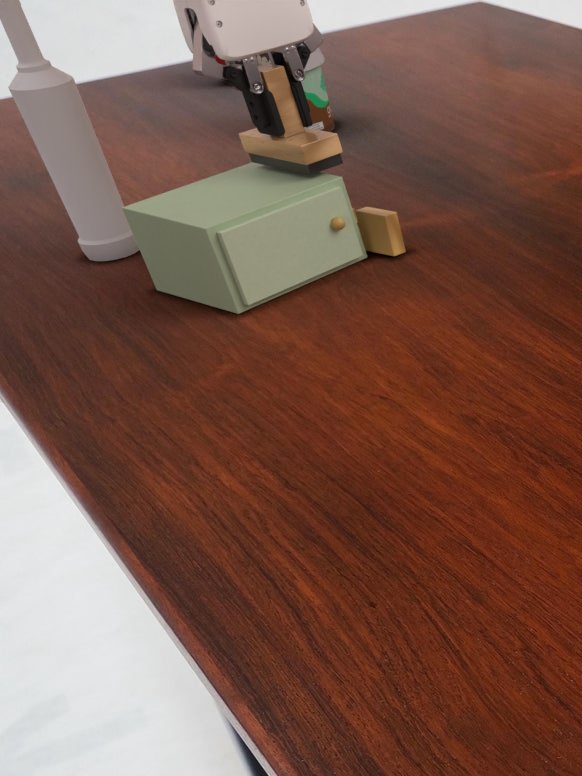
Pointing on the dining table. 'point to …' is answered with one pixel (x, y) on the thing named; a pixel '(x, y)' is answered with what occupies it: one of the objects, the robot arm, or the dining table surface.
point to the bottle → (67, 144)
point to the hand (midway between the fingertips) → (285, 127)
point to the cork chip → (380, 231)
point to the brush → (290, 134)
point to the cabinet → (246, 235)
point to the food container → (312, 90)
